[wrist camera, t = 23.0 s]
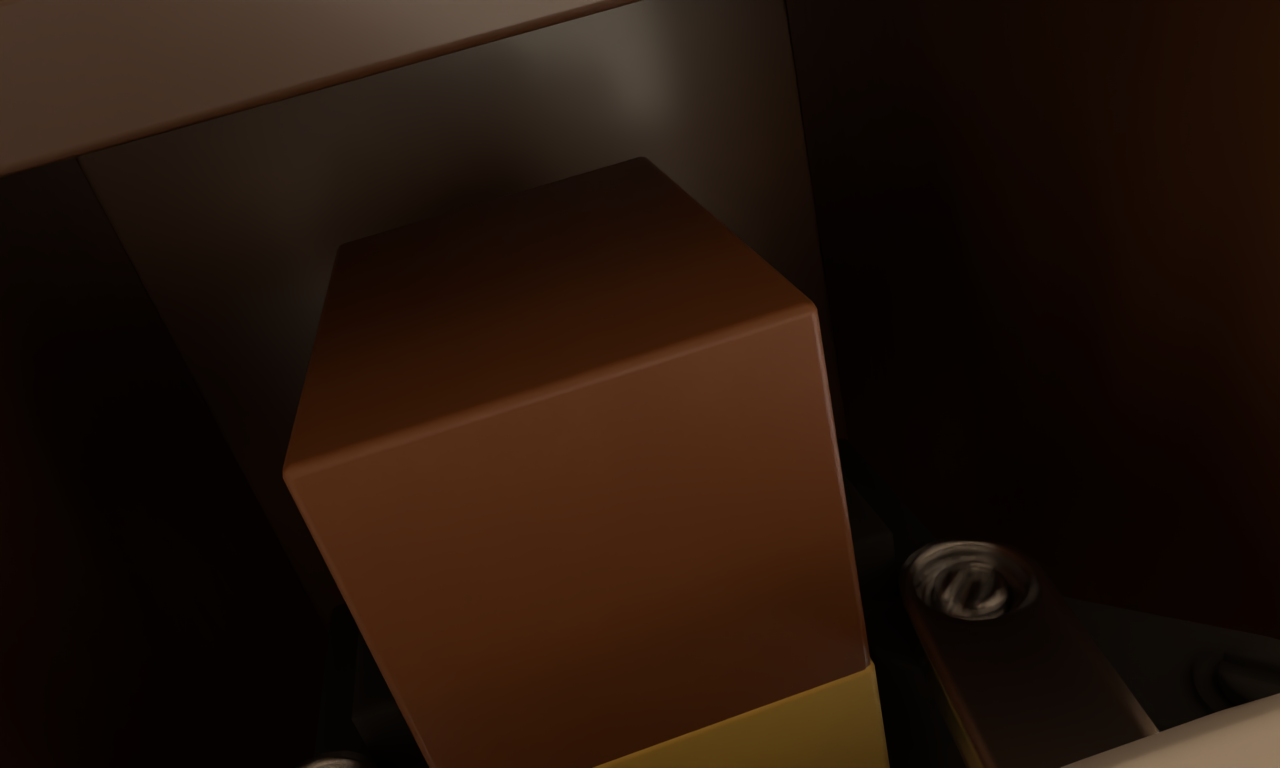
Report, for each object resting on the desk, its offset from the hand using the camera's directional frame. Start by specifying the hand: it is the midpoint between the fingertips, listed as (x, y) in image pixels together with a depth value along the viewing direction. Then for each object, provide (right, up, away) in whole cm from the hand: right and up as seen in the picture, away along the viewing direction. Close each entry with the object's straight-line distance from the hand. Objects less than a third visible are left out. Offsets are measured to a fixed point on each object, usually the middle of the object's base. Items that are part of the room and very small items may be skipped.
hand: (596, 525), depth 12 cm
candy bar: (0, 0, 0) cm, 0 cm away
